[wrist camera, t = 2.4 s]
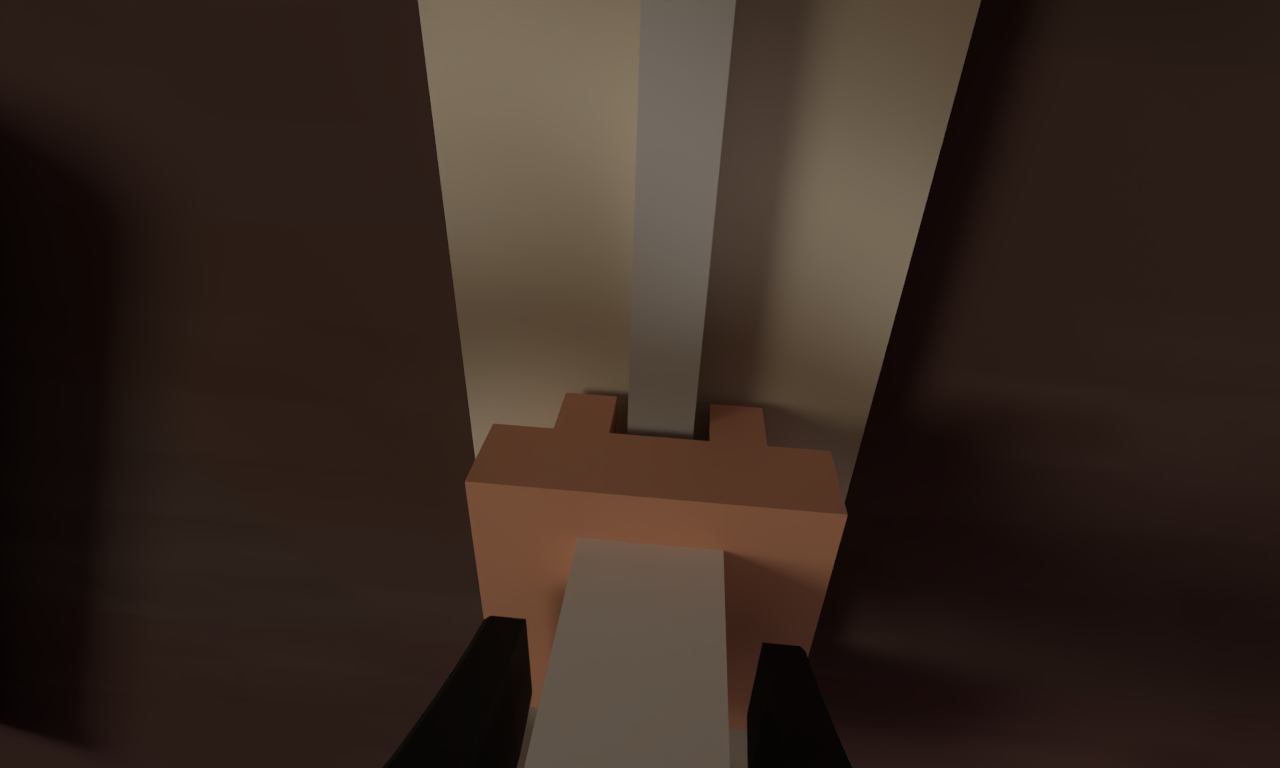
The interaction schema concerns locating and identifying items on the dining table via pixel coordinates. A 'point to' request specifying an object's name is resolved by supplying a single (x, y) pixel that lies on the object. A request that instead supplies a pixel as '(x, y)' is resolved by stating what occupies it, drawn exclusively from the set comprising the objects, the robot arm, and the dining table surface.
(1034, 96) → the dining table surface
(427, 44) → the rail
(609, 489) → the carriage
